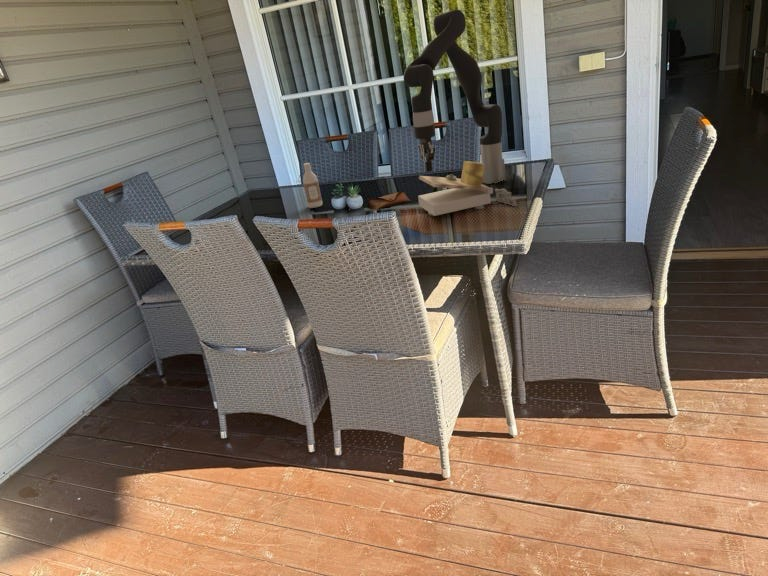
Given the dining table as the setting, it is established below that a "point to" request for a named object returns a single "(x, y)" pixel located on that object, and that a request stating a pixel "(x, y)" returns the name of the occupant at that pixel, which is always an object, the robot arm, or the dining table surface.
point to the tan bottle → (311, 187)
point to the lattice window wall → (506, 195)
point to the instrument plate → (468, 180)
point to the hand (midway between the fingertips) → (429, 171)
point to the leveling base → (454, 200)
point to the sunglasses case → (388, 200)
